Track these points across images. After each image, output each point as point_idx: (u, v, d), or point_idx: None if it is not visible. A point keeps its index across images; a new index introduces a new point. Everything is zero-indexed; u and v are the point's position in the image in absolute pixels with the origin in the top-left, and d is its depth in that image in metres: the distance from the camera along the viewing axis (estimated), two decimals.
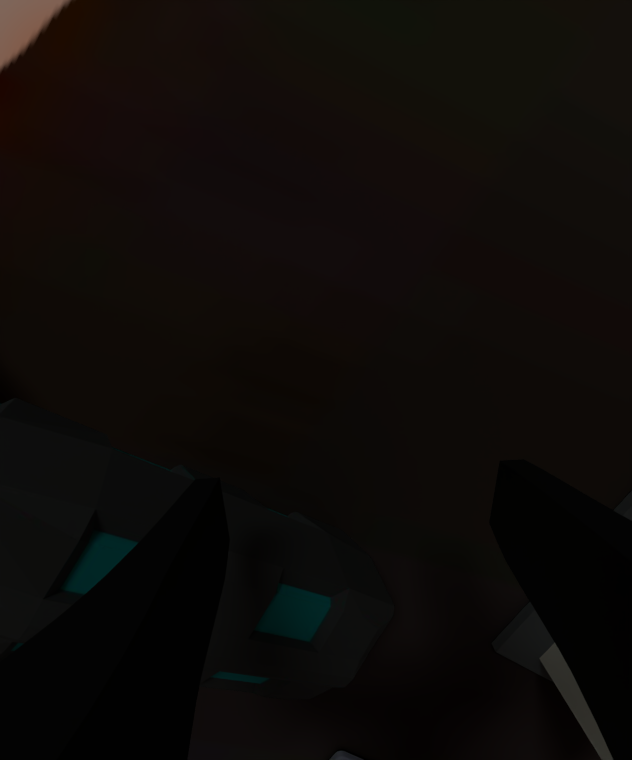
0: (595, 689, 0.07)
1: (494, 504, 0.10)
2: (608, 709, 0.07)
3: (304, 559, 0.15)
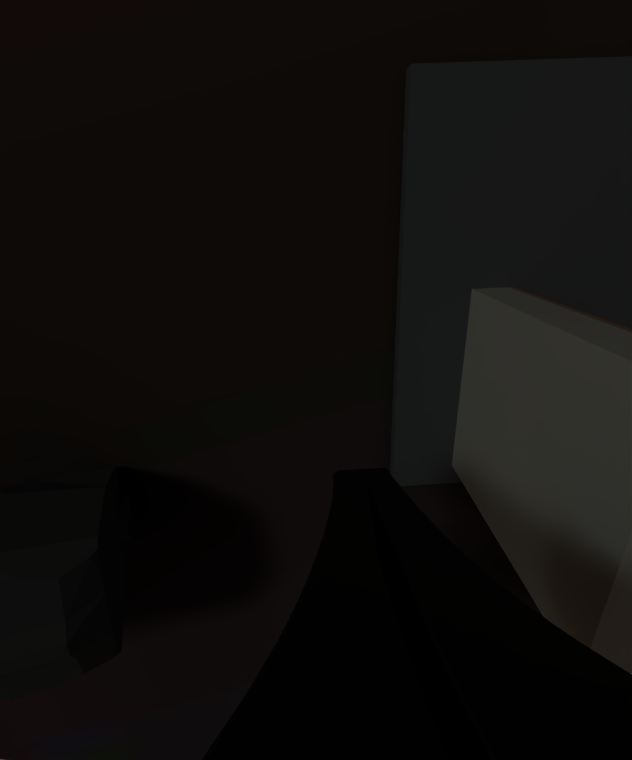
0: None
1: None
2: None
3: None
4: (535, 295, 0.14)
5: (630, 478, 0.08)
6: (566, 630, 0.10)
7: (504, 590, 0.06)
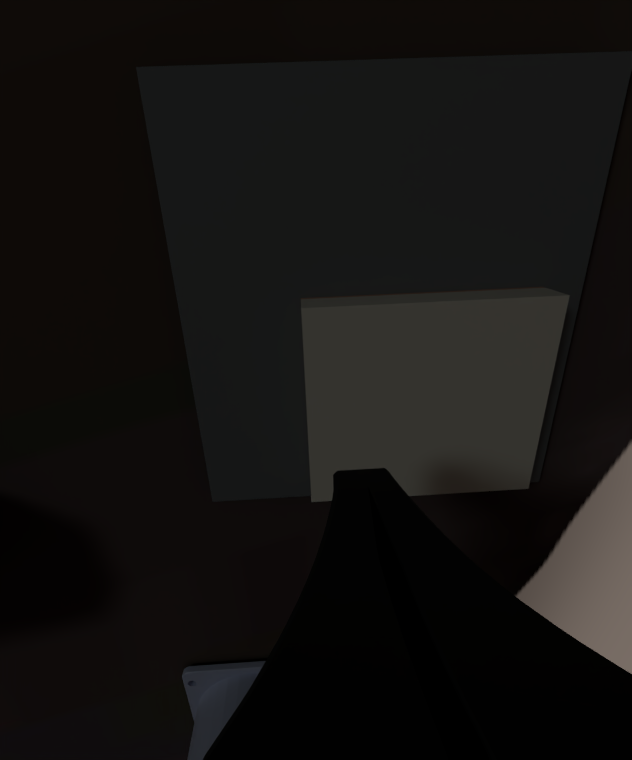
0: None
1: None
2: None
3: None
4: (343, 296, 0.15)
5: (544, 359, 0.14)
6: (512, 477, 0.16)
7: (504, 590, 0.06)
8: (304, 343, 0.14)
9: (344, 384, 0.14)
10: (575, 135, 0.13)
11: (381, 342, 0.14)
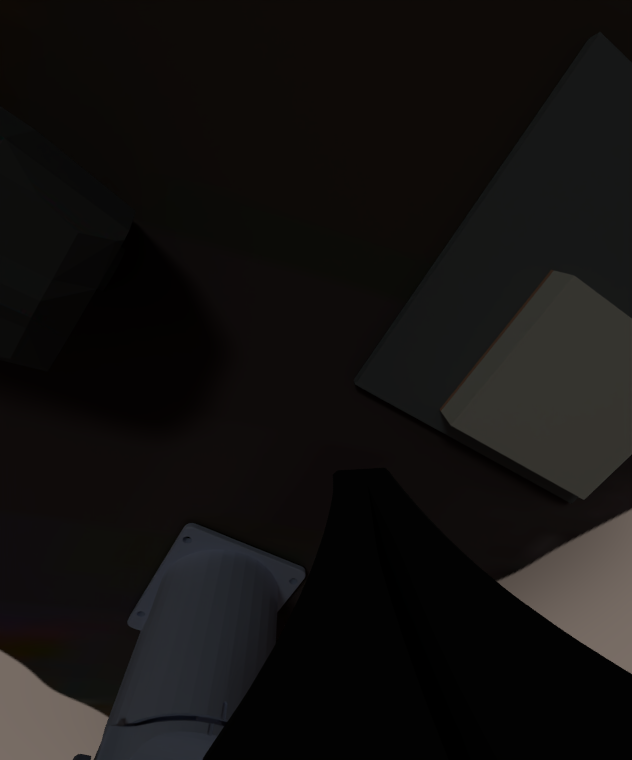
0: None
1: None
2: None
3: None
4: None
5: None
6: (582, 485, 0.20)
7: (504, 590, 0.06)
8: (554, 301, 0.17)
9: (549, 349, 0.17)
10: None
11: (595, 335, 0.17)
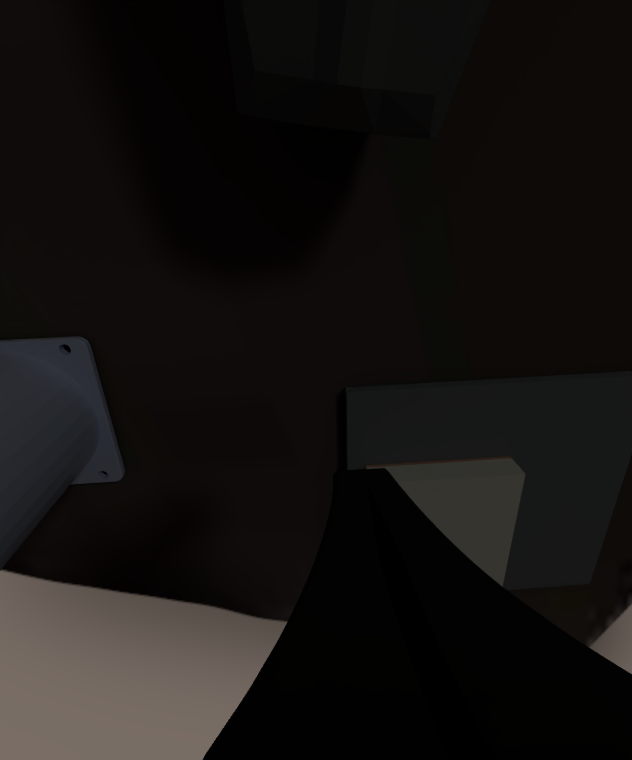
0: None
1: None
2: None
3: None
4: None
5: None
6: None
7: (504, 590, 0.06)
8: (502, 476, 0.21)
9: (468, 499, 0.21)
10: (562, 570, 0.26)
11: (492, 516, 0.22)
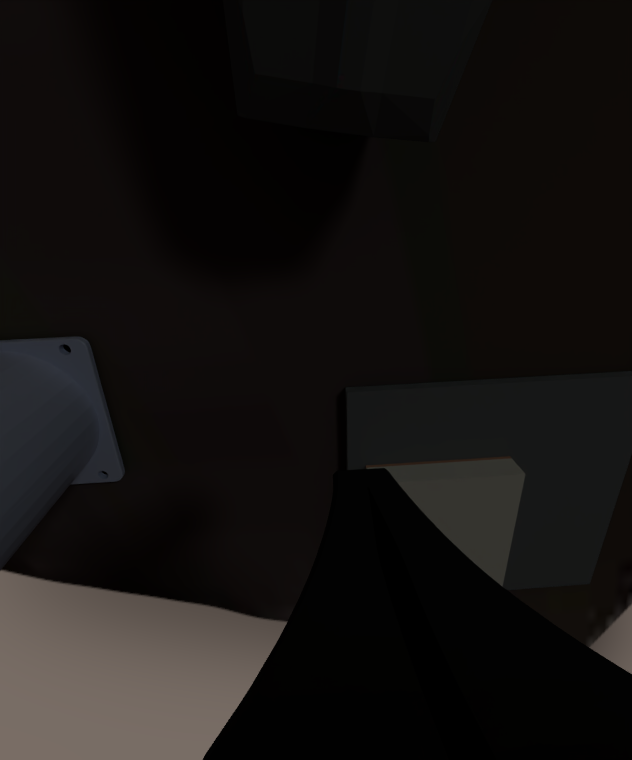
0: None
1: None
2: None
3: None
4: None
5: None
6: None
7: (504, 590, 0.06)
8: (502, 476, 0.21)
9: (468, 499, 0.21)
10: (562, 570, 0.26)
11: (492, 516, 0.22)
